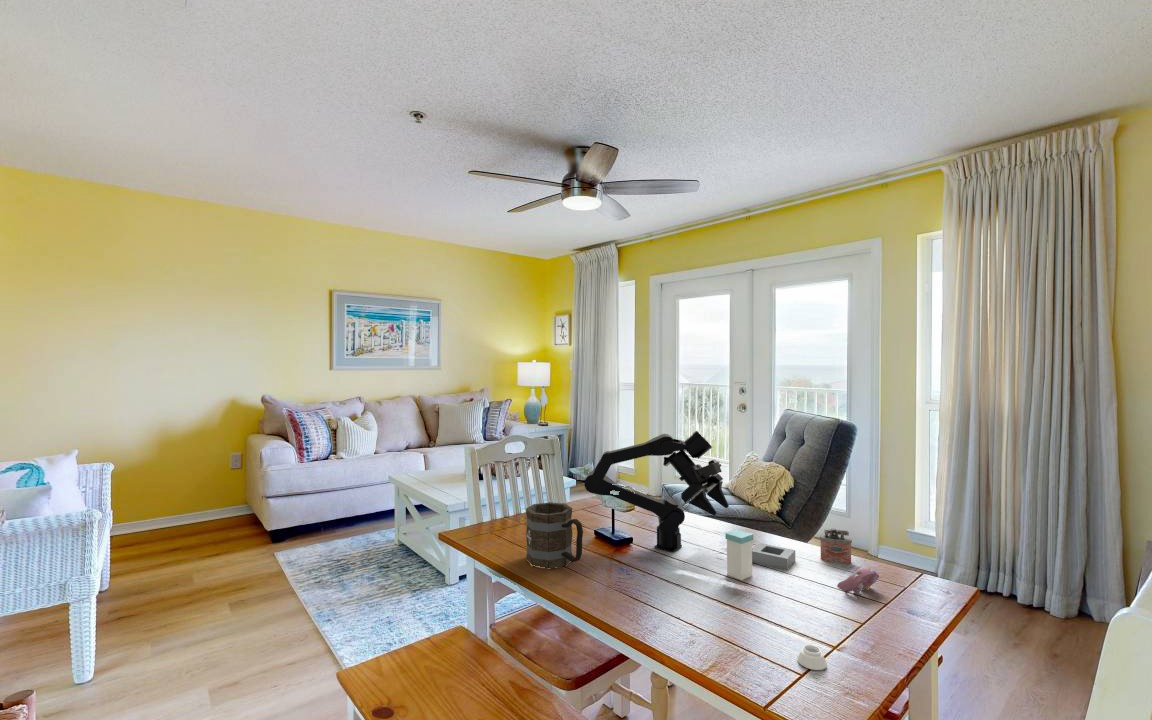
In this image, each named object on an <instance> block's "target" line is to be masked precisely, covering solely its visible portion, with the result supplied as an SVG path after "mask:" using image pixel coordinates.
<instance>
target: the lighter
mask: <svg viewBox="0 0 1152 720" xmlns="http://www.w3.org/2000/svg"><path fill="white" fill-rule="evenodd" d="M845 536H847V537H845ZM849 536H850V531H849V530H848V529H847V530H846V529H836V527H832V528H824V534H821V535H819V540H820V560H821V561H824V562H825V561H826V562H828V563H829V562H831V563H838V564H847V565H848V564H852V543H853V542H852V541H853V540H852V538H850V537H849Z"/></svg>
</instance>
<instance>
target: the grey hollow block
mask: <svg viewBox="0 0 1152 720" xmlns="http://www.w3.org/2000/svg"><path fill="white" fill-rule="evenodd" d="M795 562H796V549H792V548H787V547H782V546H776V545H771V544H768V543H762V542H758V544H756V545H755V546H754V547H752V563H755V564H757V565H758V564H759V565H763V566H766V567H767V566H768V567H772V568H776V569H780V570H785V571H788V570H789V569H790V568H791V567H792V566H793V564H794V563H795Z"/></svg>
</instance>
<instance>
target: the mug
mask: <svg viewBox="0 0 1152 720" xmlns="http://www.w3.org/2000/svg"><path fill="white" fill-rule="evenodd" d="M525 511H526V513H525V514H526V532H525V533H526V534H525V537H526V556H525V557H526V558H525V560H526V559H527V560H528V561H529V562H530V563H531V564H532V565H535V566H540V567H545V568H555V567H560V568H563V567H562V566H566V565H567V564H568V563H569V562H570V561H571V562H572V563H575V562H579V561H580V560H581V558H582V555H583V538H584V536H583V534H584V530H583V529H584V528H583V525H582V522H581V521H580V520H579V519H578V518H574V519H573V518H572V516H573V507H572V506H571V505H568V504H567V503H561V502H553V501H551V502H550V501H549V502H542V503H540V502H539V503H534V504H532V505H530V506H528V507H526V508H525ZM573 524H574V525H575V526H576V533H577V534H576V539H575V540H576V541H575V542H576V543H575V544H576V546H575V549H576V551H575V556H574V555H573V552H572V550H573V549H572V545H573V543H572V541H573V527H572V526H573ZM571 562H570V563H571ZM570 563H569V564H570ZM569 564H568V565H569ZM568 565H567V566H568ZM567 566H566V567H567ZM555 569H556V568H555Z"/></svg>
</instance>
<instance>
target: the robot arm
mask: <svg viewBox="0 0 1152 720" xmlns="http://www.w3.org/2000/svg"><path fill="white" fill-rule="evenodd" d="M712 448H713V446H712V445H711V444H710V442H709V441H708V440H707V439H706V438H705V437H704V436H702V434H701V433H699V431H698V430H694V432H693V433H692V434H691V435H690V436H689V437H688V438H687V439H685V440H682V439H678V438H673V436H672V435H670V434H669V433H662V434H659V435H658V436H655V437H653V438H651V439H649V440H647V441H644V442H642V443H639V444H634V445H629V446H627V447H621V448H618V449H614V450H609V451H608V450H607V451H604V452H603V453H602V455H601V458H600V460H599V461H598V463H597V465H595V468H594V469H593V470H591V471H590V472H589V473H587V474H586V477H585V479H584V489H586V491H587V492H588V493H591V494H595V495H599V496H610V497H613V498H615V499H618V500H621V501H623V502H625V503H628V504H631V505H633V506H636V507H638V508H641V509H643V510H646V511H648V512H650V513H653V514H655V515H656V516H657V520H658V521H657V522H658V525H657V526H656V545H654V548H655V549H657V550H662V551H666V552H670V553H674V552H676V551H677V550H679V549H680V548H682V547H683V544H682V534H681V533H680V527H679V526H680V525H681V524H683V522H684V521H685V520H686V519H685V518H686V515H685V511H684V509H683V506H682V505H681V503H680V502H678V500H677V499H673V498H670V496H667V495H664V497H663V499H660V498H659V499H658V498H655V497H653V496H650V495H648V494H645V493H643V492H640V491H638V490H635V489H633V490H634V492H635V494H634V492H633V491H632V492H631V491H630V490H628V489H624V488H622V487H624V486H625V485H623V486H619V485H612V484H619V483H617V482H616V481H614V480H613V479H612V478H610V477H609V476H608V475H607V473H608V472H609V470H610V468H611V466H613V465H615V464H619V463H623V462H627V461H631V460H635V459H639V458H645V457H648V456H649V457H650V456H655V457H658V456H664V457H663V467H664V466H665V467H668V466H670V465H671V466H672V467H673V468H674V470H675V471H676V472H677V474H678V475H679V476H680V477H679V480H680V481H681V482H683V481H684V482H685V483H686V484H687V485H688V487H686V488H685V489H684V491H682V492H681V493H680V499H682V501H683V502H684V504H686V503H688V505H691V506H695V508H699V509H700V510H702V511H705V512H706V513H708V514H709V515H712V516H716V515H717V514H718V512H717V511H716V510H715V508H714V506H713V504H712V503H711V502H710V500H709V499H708V498H711V499H712V500H713V501H715V502H716V503H717V504H719V505H720V506H722V507H723V508H725V509H728V508H729V506H730V505H729V503H728V501H727V499H726V497H725V494H724V492H723V489H722V487H723V486H722V485H723V483H724V481H723V480H724V478H723V476H721V474H720V473H722V472H723V471H722V469H721V467H722V464H721V463H719V462H720V461H717V460H716V459H712V460H709V461H708V464H707V465H705V466H702V465H701V464H695V462H694V461H693V460H692V459H700V458H701V457H702V456H704V455H705V454H706V453H707V452H708V451H710V450H711V449H712ZM686 452H687V453H688V454H687V453H686ZM689 455H690V456H691V457H690V456H689ZM667 456H668V457H667ZM612 490H615V491H620V492H619V495H613V494H610V491H612ZM707 496H708V497H707Z"/></svg>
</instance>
